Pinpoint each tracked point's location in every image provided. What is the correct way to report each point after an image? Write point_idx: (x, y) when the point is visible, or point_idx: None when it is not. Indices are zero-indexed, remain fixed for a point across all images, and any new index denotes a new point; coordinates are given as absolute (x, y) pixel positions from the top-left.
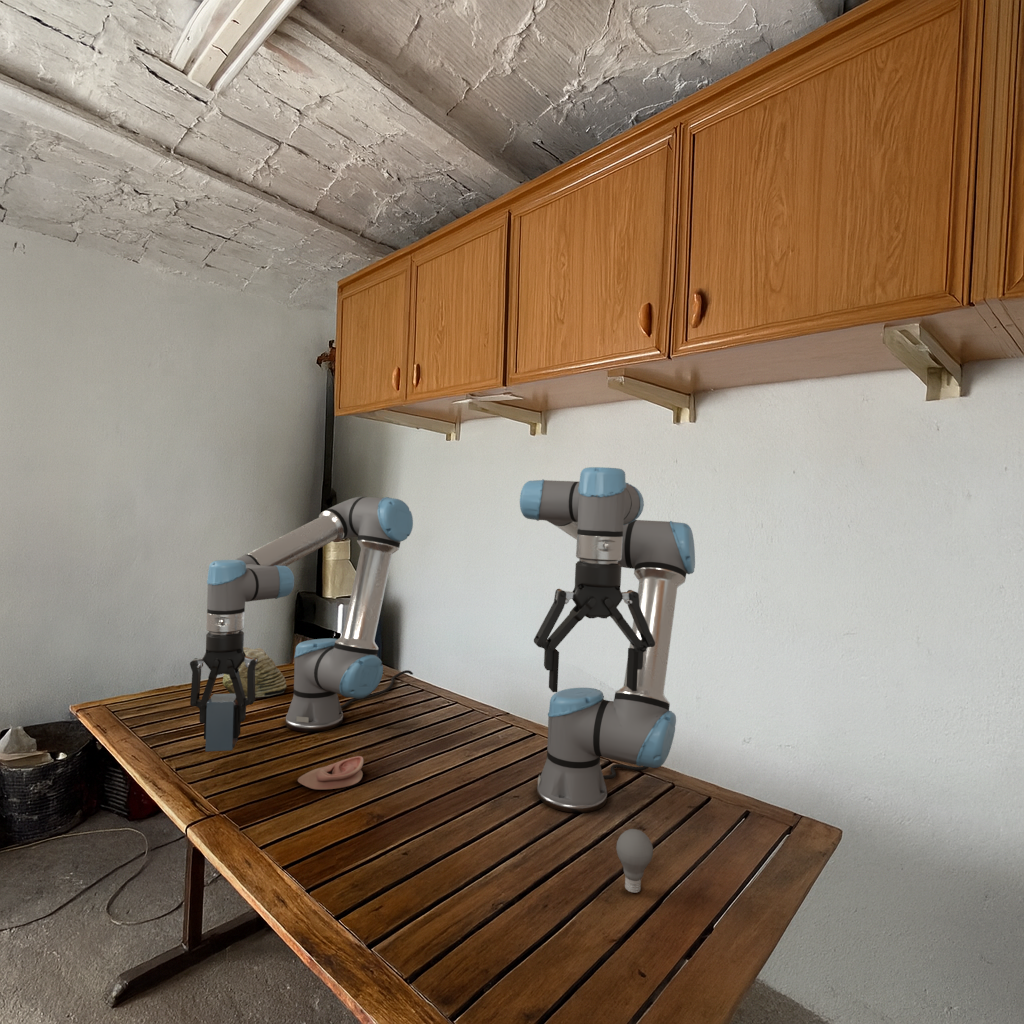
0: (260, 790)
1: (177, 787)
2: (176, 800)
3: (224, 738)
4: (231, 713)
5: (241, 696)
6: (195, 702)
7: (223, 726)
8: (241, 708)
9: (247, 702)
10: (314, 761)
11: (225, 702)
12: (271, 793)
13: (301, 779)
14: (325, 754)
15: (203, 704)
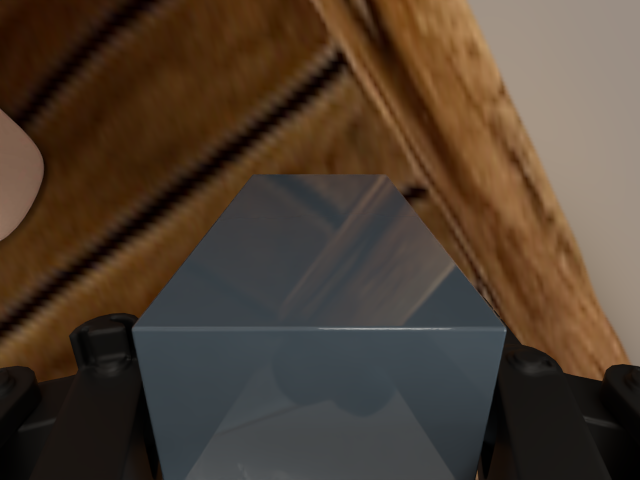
0: (158, 99)
1: (456, 159)
2: (443, 46)
3: (287, 191)
4: (204, 255)
5: (50, 452)
6: (631, 398)
7: (290, 215)
8: (110, 318)
9: (29, 385)
10: (50, 311)
11: (246, 324)
12: (108, 66)
13: (14, 142)
14: (34, 357)
15: (524, 377)
